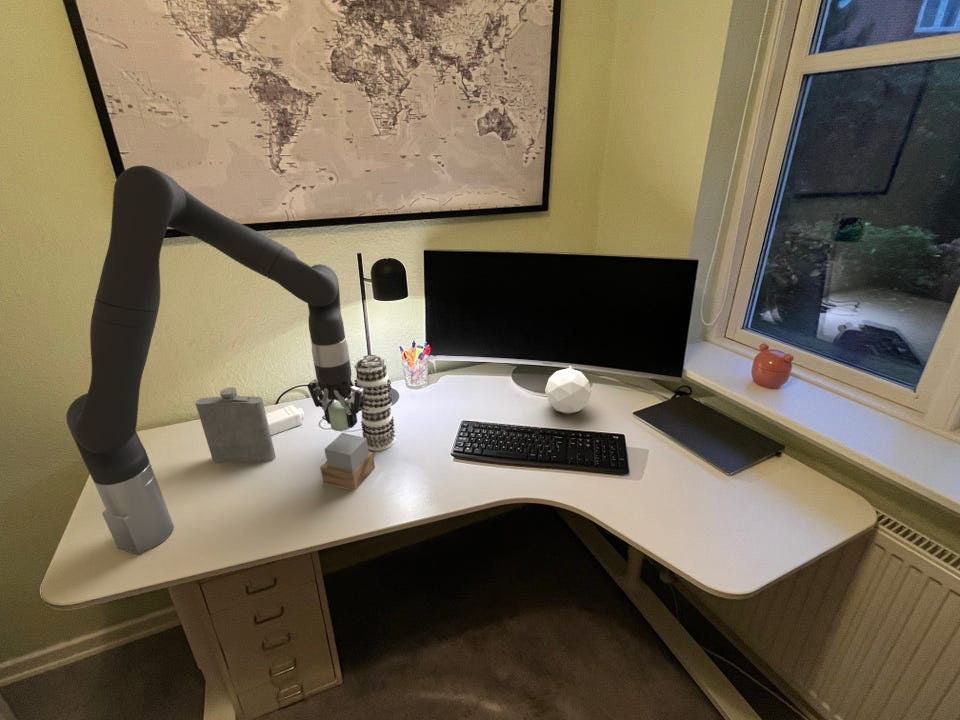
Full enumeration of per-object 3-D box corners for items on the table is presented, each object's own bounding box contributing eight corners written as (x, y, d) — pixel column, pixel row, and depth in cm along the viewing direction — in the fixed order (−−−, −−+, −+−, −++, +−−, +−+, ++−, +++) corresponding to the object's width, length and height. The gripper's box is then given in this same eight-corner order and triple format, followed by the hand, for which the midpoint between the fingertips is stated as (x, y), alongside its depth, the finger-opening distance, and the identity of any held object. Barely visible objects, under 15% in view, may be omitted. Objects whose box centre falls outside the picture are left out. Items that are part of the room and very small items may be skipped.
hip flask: (210, 463, 124) (189, 395, 115) (218, 453, 127) (198, 387, 119) (273, 462, 124) (257, 394, 115) (278, 452, 128) (263, 386, 119)
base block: (355, 491, 114) (353, 474, 112) (323, 483, 117) (320, 467, 114) (375, 468, 122) (373, 452, 119) (344, 461, 124) (341, 445, 122)
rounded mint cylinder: (357, 421, 114) (354, 402, 112) (346, 432, 110) (343, 413, 108) (338, 418, 115) (335, 399, 113) (326, 429, 111) (323, 410, 109)
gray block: (352, 472, 113) (350, 454, 110) (327, 465, 115) (324, 448, 113) (369, 455, 118) (366, 438, 116) (344, 449, 121) (342, 432, 119)
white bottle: (308, 423, 140) (305, 410, 139) (260, 441, 133) (257, 427, 131) (299, 414, 145) (297, 401, 143) (253, 430, 138) (250, 417, 136)
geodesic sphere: (542, 376, 153) (546, 356, 141) (585, 377, 153) (593, 357, 140) (543, 419, 147) (547, 402, 134) (589, 420, 146) (597, 403, 134)
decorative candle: (355, 448, 129) (343, 364, 118) (373, 429, 137) (363, 349, 126) (386, 454, 126) (376, 369, 116) (402, 435, 134) (394, 354, 123)
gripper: (369, 355, 106) (377, 420, 114) (313, 347, 110) (324, 411, 118) (350, 370, 100) (360, 438, 107) (292, 361, 104) (305, 427, 111)
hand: (341, 423), depth 112 cm, fingers closed on rounded mint cylinder, 5 cm apart
